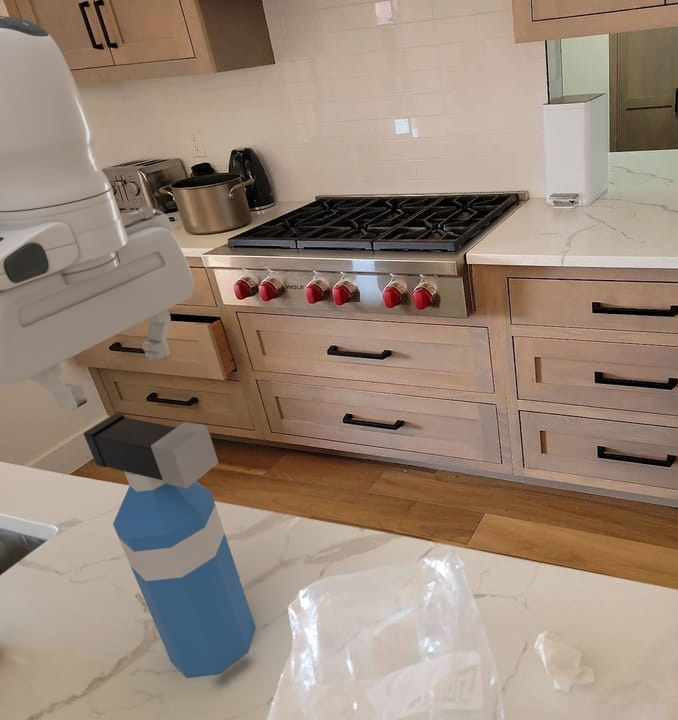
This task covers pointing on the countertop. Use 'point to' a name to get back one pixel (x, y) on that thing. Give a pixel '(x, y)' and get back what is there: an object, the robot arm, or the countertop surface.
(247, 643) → the water bottle
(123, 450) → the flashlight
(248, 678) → the countertop surface
